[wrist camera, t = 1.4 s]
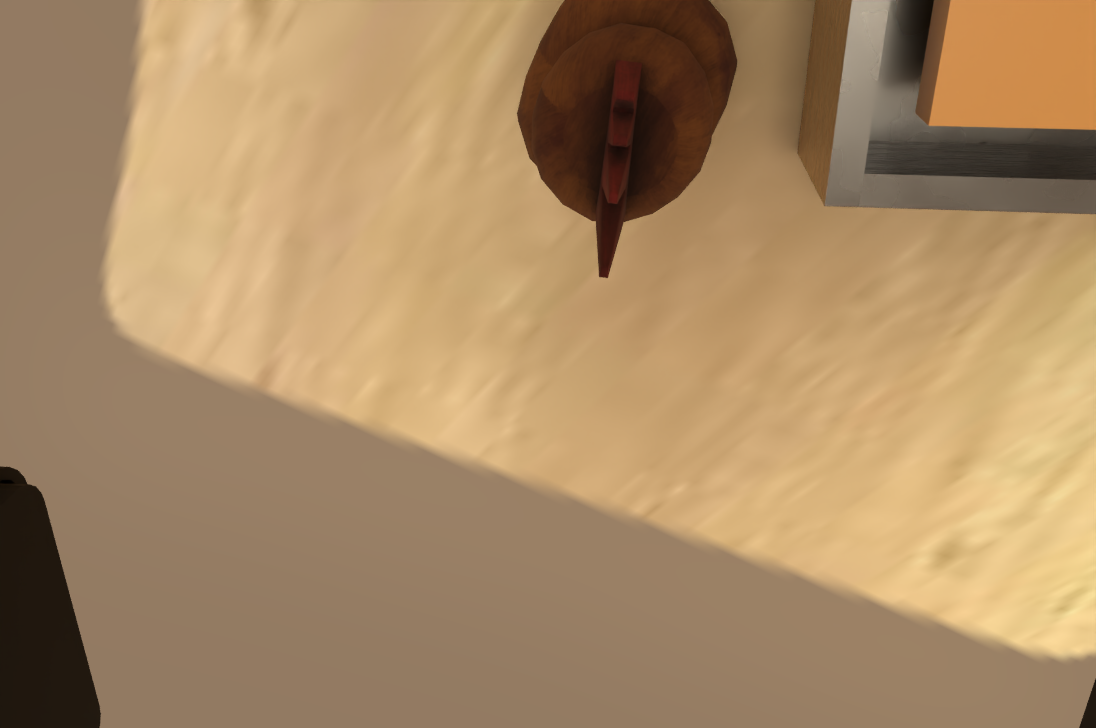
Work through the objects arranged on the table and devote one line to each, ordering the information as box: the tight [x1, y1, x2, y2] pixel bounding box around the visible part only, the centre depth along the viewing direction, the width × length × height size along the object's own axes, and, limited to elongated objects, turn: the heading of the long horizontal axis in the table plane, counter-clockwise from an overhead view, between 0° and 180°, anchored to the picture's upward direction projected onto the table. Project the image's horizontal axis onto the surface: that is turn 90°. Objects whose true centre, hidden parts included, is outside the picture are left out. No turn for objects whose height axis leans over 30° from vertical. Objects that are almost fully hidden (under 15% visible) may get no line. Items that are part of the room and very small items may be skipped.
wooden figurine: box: [517, 0, 737, 278], centre depth 27 cm, size 7×6×15 cm
